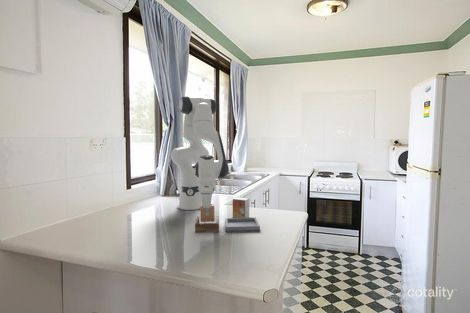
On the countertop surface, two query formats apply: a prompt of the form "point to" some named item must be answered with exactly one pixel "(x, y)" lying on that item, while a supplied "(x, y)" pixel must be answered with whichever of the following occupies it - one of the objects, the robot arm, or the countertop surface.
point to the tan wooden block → (207, 217)
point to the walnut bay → (206, 226)
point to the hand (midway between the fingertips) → (207, 213)
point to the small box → (241, 207)
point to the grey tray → (241, 224)
